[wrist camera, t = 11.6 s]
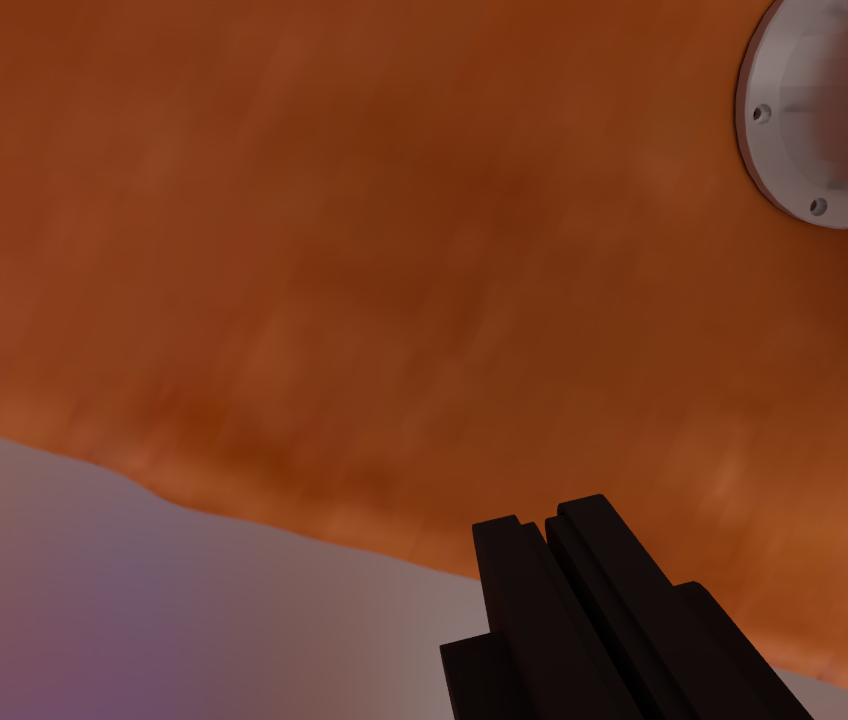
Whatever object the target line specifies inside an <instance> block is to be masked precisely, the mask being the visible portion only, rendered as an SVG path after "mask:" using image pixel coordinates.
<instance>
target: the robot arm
mask: <svg viewBox="0 0 848 720" xmlns="http://www.w3.org/2000/svg"><path fill="white" fill-rule="evenodd" d="M754 110H755V111H756V115H755V117H753V114H754ZM736 129H737V135H738V141H739V147H740V151H741V153H742V156H743V159H744V161H745V164H746V167H747V170H748V172H749V174H750V175H751V177H752V178H753V180H754V182H755V183H756V185H757V186H758V188H759V189H760V191H761V192H762V193H763V194H764V195H765V196H766V197H767V198H768V199H769V200H770V201H771V202H772V203H773V204H774V205H775V206H776V207H777V208H779V209H781V210H782V211H784V212H786V213H787V214H789V215H790V216H792V217H794V218H796V219H799V220H802V221H805V222H808V223H811V224H814V225H818V226H823V227H828V228H833V229H848V0H775V2H774V3H773V4H772V6H771V7H770V8H769V10H768V11H767V12H766V13H765V15H764V17H763V19H762V21H761V22H760V24H759V26H758V28H757V30H756V32H755V34H754V35H753V37H752V39H751V41H750V44H749V47H748V50H747V53H746V55H745V58H744V61H743V64H742V67H741V71H740V76H739V82H738V88H737V93H736ZM545 531H546V538H547V543H546V542H545V540H544V538H543V536H542V534H541V533H540V531H539V529H538V527H537V525H536V524H535V523H534V522H530V523H526V524H522V525H521V524H520V522H519V520H518V519H517V517H516V516H515V515H510V516H506V517H501V518H497V519H493V520H489V521H485V522H481V523H477V524H473V525H472V532H473V539H474V544H475V550H476V556H477V561H478V567H479V572H480V578H481V584H482V589H483V595H484V600H485V606H486V611H487V617H488V623H489V628H490V633H487V634H483V635H479V636H475V637H472V638H468V639H463V640H459V641H456V642H452V643H448V644H444V645H440V653H441V658H442V663H443V667H444V672H445V677H446V682H447V687H448V691H449V696H450V700H451V705H452V710H453V714H454V719H455V720H814V719H813V718H812V717H811V715H810V714H809V713H808V712H807V711H806V709H805V708H804V707H803V706H802V704H801V703H800V702H799V701H798V700H797V699H796V697H795V696H794V695H793V693H792V692H791V691H790V690H789V689H788V687H787V686H786V685H785V684H784V683H783V681H782V680H781V679H780V678H779V677H778V675H777V674H776V673H775V672H774V670H773V669H772V668H771V667H770V666H769V664H768V663H767V662H766V661H765V660H764V658H763V657H762V656H761V655H760V653H759V652H758V651H757V650H756V649H755V647H754V646H753V645H752V644H751V643H750V641H749V640H748V639H747V638H746V637H745V635H744V634H743V633H742V632H741V630H740V629H739V628H738V627H737V626H736V624H735V623H734V622H733V621H732V620H731V618H730V617H729V616H728V615H727V614H726V612H725V611H724V610H723V609H722V607H721V606H720V605H719V604H718V603H717V601H716V600H715V599H714V598H713V597H712V595H711V594H710V593H709V592H708V591H707V590H706V589H705V588H704V587H703V586H702V585H701V584H700V583H697V582H694V581H692V582H688V583H684V584H680V585H676V586H673V585H672V584H671V583H670V581H669V580H668V579H667V577H666V576H665V575H664V573H663V572H662V571H661V569H660V568H659V567H658V566H657V564H656V563H655V562H654V560H653V559H652V558H651V556H650V555H649V554H648V552H647V551H646V550H645V549H644V547H643V546H642V545H641V543H640V542H639V541H638V539H637V538H636V537H635V535H634V534H633V533H632V532H631V530H630V529H629V528H628V526H627V525H626V524H625V522H624V521H623V520H622V518H621V517H620V516H619V514H618V513H617V512H616V511H615V509H614V508H613V507H612V505H611V504H610V503H609V501H608V500H607V499H606V498H605V497H604V496H603V495H602V494H597V495H593V496H589V497H584V498H580V499H576V500H572V501H568V502H564V503H560V504H559V505H558V508H557V516H555V517H551V518H547V519H546V520H545Z"/></svg>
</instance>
